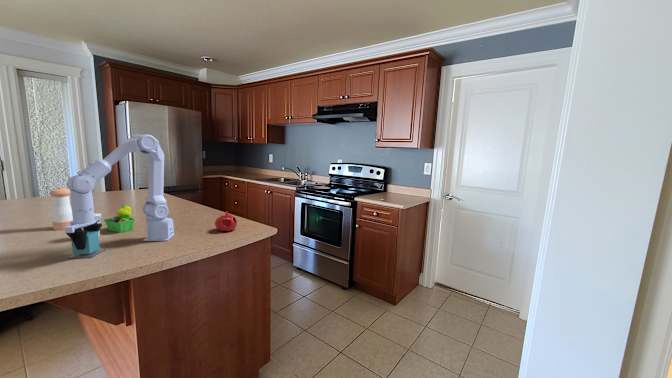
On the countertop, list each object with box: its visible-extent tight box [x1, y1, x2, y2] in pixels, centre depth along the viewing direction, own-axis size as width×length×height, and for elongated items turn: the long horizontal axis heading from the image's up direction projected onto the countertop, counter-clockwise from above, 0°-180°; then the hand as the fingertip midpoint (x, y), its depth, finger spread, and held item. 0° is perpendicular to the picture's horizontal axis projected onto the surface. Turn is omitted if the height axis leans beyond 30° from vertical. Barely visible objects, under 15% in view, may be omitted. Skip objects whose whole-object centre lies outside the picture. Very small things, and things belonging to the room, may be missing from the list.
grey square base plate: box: [68, 248, 105, 259], centre depth 99 cm, size 7×7×6 cm
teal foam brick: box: [70, 231, 101, 255], centre depth 99 cm, size 5×5×7 cm
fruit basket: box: [103, 204, 136, 233], centre depth 128 cm, size 11×9×11 cm
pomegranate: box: [214, 210, 238, 232], centre depth 134 cm, size 10×10×9 cm
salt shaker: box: [49, 186, 73, 231], centre depth 127 cm, size 7×7×19 cm
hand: (86, 246), depth 99 cm, fingers closed on teal foam brick, 5 cm apart
